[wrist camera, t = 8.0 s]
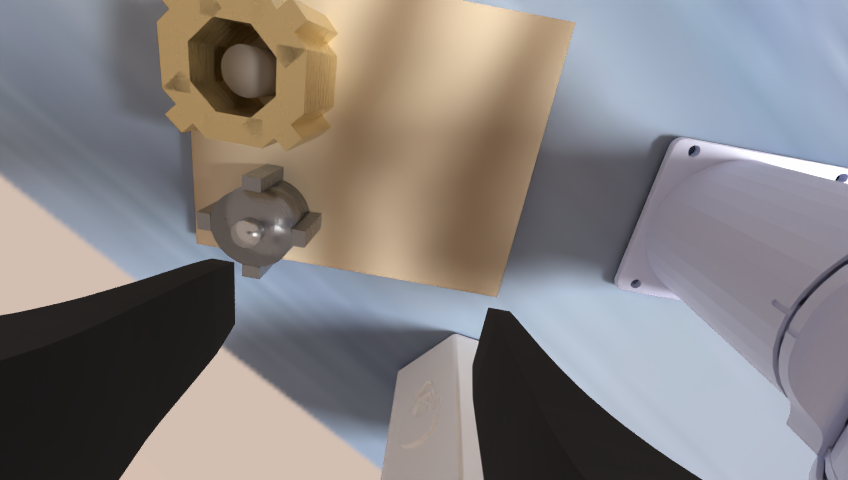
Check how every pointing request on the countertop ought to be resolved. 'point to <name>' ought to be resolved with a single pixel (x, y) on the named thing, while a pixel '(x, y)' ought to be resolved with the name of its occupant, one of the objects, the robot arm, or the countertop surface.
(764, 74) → the countertop surface
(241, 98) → the brass gear
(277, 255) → the gear
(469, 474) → the jar
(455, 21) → the gear board
